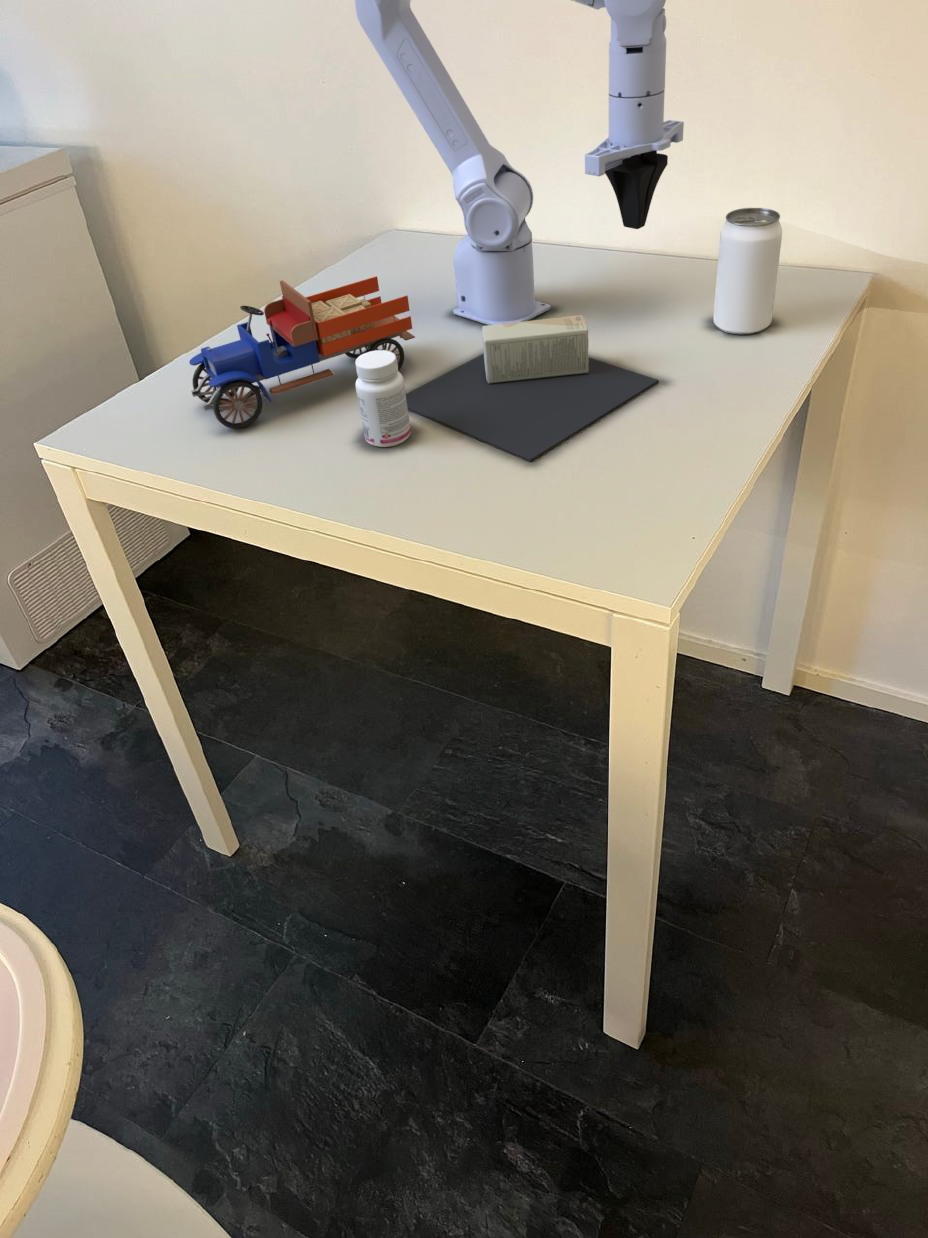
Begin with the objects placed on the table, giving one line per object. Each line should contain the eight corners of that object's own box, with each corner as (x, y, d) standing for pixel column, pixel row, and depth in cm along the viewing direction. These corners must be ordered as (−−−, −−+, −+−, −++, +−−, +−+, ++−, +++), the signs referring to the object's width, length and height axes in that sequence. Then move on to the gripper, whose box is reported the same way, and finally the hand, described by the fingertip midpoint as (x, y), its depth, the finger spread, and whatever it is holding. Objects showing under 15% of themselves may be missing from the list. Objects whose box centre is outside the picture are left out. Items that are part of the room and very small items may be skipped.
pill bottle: (418, 426, 98) (407, 349, 93) (401, 450, 95) (389, 371, 90) (375, 422, 100) (363, 346, 94) (357, 446, 97) (343, 368, 91)
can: (772, 335, 107) (786, 225, 99) (712, 335, 108) (721, 226, 101) (770, 311, 112) (783, 205, 104) (712, 312, 113) (721, 206, 105)
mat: (392, 403, 103) (392, 400, 103) (519, 336, 113) (519, 334, 113) (530, 462, 91) (530, 459, 91) (658, 382, 101) (658, 379, 101)
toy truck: (192, 409, 106) (163, 312, 99) (392, 344, 114) (379, 250, 107) (217, 439, 100) (188, 339, 93) (426, 368, 109) (414, 271, 102)
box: (583, 313, 103) (481, 322, 103) (589, 329, 100) (483, 338, 100) (583, 359, 107) (484, 367, 107) (588, 376, 103) (486, 385, 103)
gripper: (623, 112, 93) (621, 252, 102) (710, 78, 100) (701, 212, 109) (568, 105, 97) (571, 241, 106) (655, 73, 105) (651, 202, 113)
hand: (634, 225), depth 108 cm, fingers closed
